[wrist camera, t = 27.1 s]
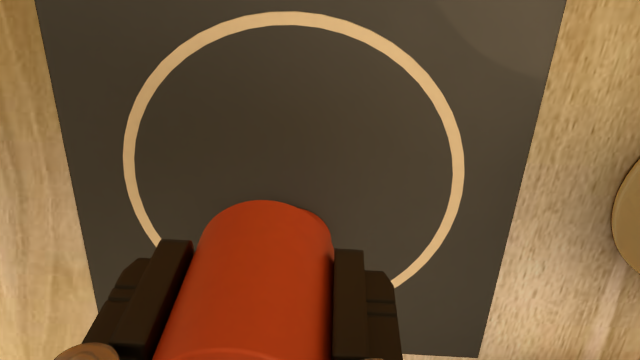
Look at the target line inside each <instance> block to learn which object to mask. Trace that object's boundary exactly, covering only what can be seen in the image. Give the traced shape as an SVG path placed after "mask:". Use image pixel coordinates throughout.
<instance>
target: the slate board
mask: <svg viewBox="0 0 640 360" xmlns="http://www.w3.org/2000/svg"><path fill="white" fill-rule="evenodd" d="M566 1H567V0H35V5H36V10H37V15H38V19H39V24H40V29H41V34H42V39H43V44H44V49H45V54H46V59H47V63H48V68H49V73H50V78H51V83H52V88H53V93H54V98H55V103H56V107H57V112H58V117H59V122H60V127H61V132H62V137H63V142H64V147H65V151H66V156H67V161H68V166H69V171H70V176H71V181H72V186H73V191H74V195H75V200H76V205H77V210H78V215H79V220H80V225H81V230H82V235H83V240H84V244H85V249H86V254H87V259H88V264H89V269H90V274H91V279H92V284H93V288H94V293H95V298H96V303H97V308H98V313H99V312H100V310H101V308H102V306H103V305H104V303H105V301H106V300H108V296H109V294H110V292H111V291H112V289H113V288H114V287H115V283H116V282H117V280H118V278H119V276H120V275H121V273H122V271H123V270H124V269H125V268H126V267H128V266H129V265H130V264H131V263H133V262H134V261H135V260H136V259H137V258H151V257H152V255H153V253H154V251H155V249H156V247H157V245H158V243H159V242H160V240H161V239H175V240H191V241H192V242H193V246H194V253H195V250H196V248H197V245H198V243H199V240H200V238H201V235H202V233H203V231H204V229H205V227H206V226H207V225H208V223H209V222H210V221H211V220H212V219H213V218H214V217H215V216H216V215H217V214H219V213H220V212H222V211H223V210H225V209H227V208H229V207H231V206H233V205H236V204H239V203H242V202H246V201H253V200H271V201H278V202H282V203H286V204H289V205H292V206H294V207H297V208H300V209H304V210H307V211H310V212H312V213H314V214H315V215H317V216H318V217H319V218H320V219H321V220H322V221H323V222H324V223H325V224H326V226H327V227H328V229H329V232H330V235H331V242H332V245H333V248H334V251H335V248H338V249H356V250H363V252H364V269H365V270H372V271H384V273H385V274H386V275H387V277H388V278H389V280H390V281H391V282H392V284H393V285H394V293H395V304H396V309H397V317H398V325H399V333H400V341H401V349H402V354H415V355H433V356H451V357H469V358H478V355H479V351H480V347H481V343H482V339H483V335H484V331H485V327H486V323H487V319H488V315H489V311H490V307H491V303H492V299H493V295H494V291H495V287H496V283H497V279H498V274H499V270H500V266H501V262H502V258H503V254H504V250H505V246H506V242H507V238H508V234H509V230H510V226H511V222H512V218H513V214H514V210H515V206H516V202H517V198H518V194H519V190H520V186H521V182H522V178H523V174H524V170H525V166H526V162H527V158H528V154H529V150H530V146H531V142H532V138H533V134H534V130H535V126H536V122H537V118H538V114H539V109H540V105H541V101H542V97H543V93H544V89H545V85H546V81H547V77H548V73H549V69H550V65H551V61H552V57H553V53H554V49H555V45H556V41H557V37H558V33H559V29H560V25H561V21H562V17H563V13H564V9H565V5H566Z"/></svg>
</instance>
